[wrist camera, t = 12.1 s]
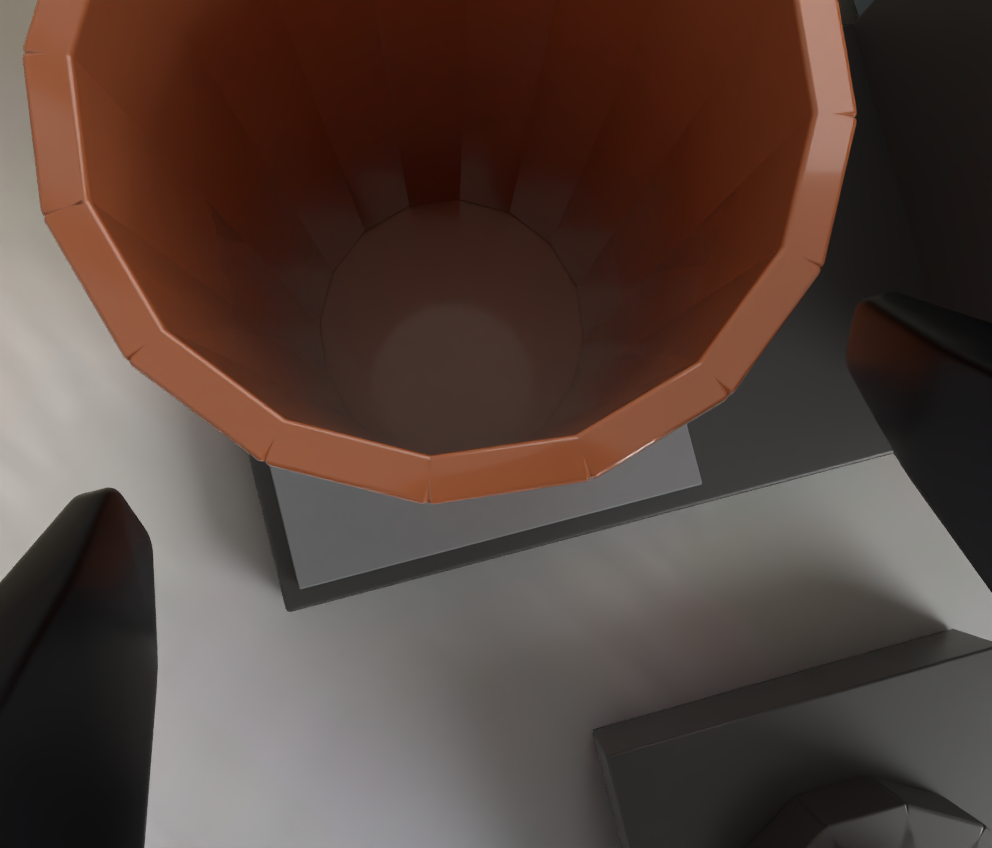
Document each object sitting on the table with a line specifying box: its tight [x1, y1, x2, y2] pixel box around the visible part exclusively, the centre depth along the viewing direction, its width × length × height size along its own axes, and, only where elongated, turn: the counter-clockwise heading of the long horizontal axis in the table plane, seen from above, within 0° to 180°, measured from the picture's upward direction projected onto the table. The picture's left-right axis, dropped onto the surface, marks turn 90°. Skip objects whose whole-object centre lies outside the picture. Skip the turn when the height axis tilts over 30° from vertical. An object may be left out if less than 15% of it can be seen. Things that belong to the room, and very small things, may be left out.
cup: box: [23, 0, 857, 505], centre depth 13 cm, size 7×7×12 cm
